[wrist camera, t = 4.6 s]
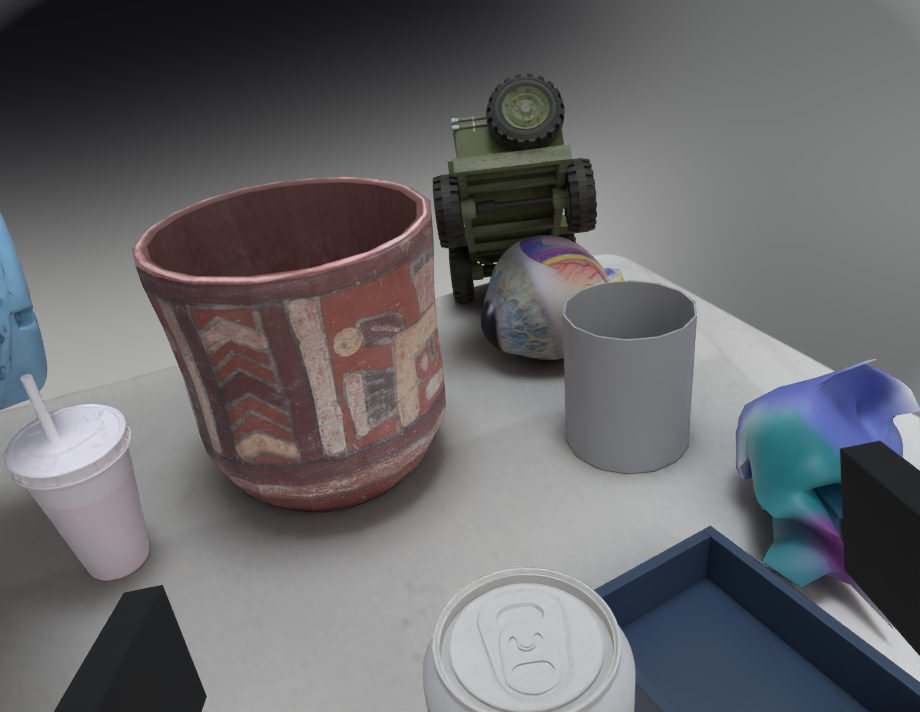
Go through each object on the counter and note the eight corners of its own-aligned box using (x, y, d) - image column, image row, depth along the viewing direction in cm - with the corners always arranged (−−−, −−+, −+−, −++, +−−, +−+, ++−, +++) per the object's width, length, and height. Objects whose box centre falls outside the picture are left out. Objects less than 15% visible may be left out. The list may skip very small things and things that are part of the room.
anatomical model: (494, 340, 71) (452, 250, 65) (622, 288, 69) (589, 191, 64) (510, 403, 62) (463, 305, 57) (656, 346, 61) (621, 239, 55)
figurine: (877, 633, 44) (890, 638, 37) (690, 526, 50) (667, 511, 42) (982, 437, 45) (1017, 401, 37) (786, 354, 51) (780, 308, 43)
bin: (781, 904, 28) (793, 851, 27) (565, 656, 39) (563, 606, 37) (941, 766, 32) (960, 711, 30) (706, 574, 42) (710, 525, 41)
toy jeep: (576, 299, 77) (562, 198, 79) (606, 193, 52) (584, 52, 55) (456, 313, 77) (446, 212, 80) (430, 215, 53) (416, 73, 55)
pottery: (198, 576, 46) (100, 306, 37) (217, 417, 61) (151, 198, 52) (485, 514, 48) (459, 246, 39) (436, 376, 63) (409, 160, 54)
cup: (711, 457, 51) (722, 324, 46) (595, 485, 50) (593, 351, 45) (653, 393, 58) (657, 272, 53) (550, 416, 57) (545, 294, 52)
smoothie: (57, 545, 49) (-34, 364, 41) (159, 505, 51) (92, 328, 44) (71, 616, 44) (-28, 427, 36) (183, 568, 47) (112, 382, 39)
